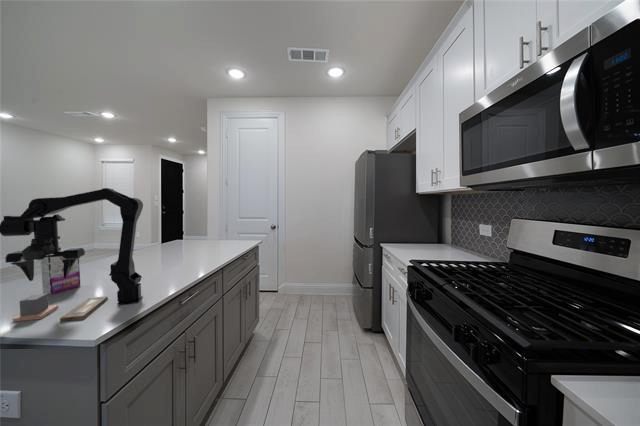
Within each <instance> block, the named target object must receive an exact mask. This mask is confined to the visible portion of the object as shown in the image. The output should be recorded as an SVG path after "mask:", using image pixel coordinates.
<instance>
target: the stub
mask: <svg viewBox="0 0 640 426" xmlns="http://www.w3.org/2000/svg"><path fill="white" fill-rule="evenodd" d="M57 309H59V305H58V304H57V305H54V304H53V305H49V294H48V293H46V294H43V293H35V294H31V295H29V296H27V297H25V298H23V299H21V300H19V314H18V315H17V316H15V317H13V318H12V322H22V321H32V320H40V319H43V318H45V317H46V316H49V314H51V313H54V311H56V310H57Z"/></svg>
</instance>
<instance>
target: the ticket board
mask: <svg viewBox="0 0 640 426" xmlns="http://www.w3.org/2000/svg"><path fill="white" fill-rule="evenodd" d="M106 301H108V296H98V297H96V296H95V297H89V298H87V299H85V300H84V301H82V302H81V303H79V304H78V305H76V306H75V307H74V308H72V309H71V310H70V311H68V312H67V313H65V314H64V315H62V316H60V318H59V322H60V323H62V322H71V321H81V320H85V319H86V318H87V317H88V316H90V315H91V314H92V313H94V312H95V310H97V309H98V308H99V307H101V306H102V305H103V304H104V303H105V302H106Z"/></svg>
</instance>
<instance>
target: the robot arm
mask: <svg viewBox="0 0 640 426" xmlns="http://www.w3.org/2000/svg"><path fill="white" fill-rule="evenodd" d="M106 200H107V201H108V202H110V203H112V204H113V205H115V206H116V207H119V212H120V217H121V219H122V225H121V234H120V241H119V242H120V243H119V250H118V256H117V257H118V258H117V260H115V262H113V263H112V264H111V263H110V272H109V275H108V276H109V277H110V280H111V281H112V282H113V283H114V284H115V285H116V286H117V288H118V290H117V293H116V295H117V296H116V298H117V306H121V305H130V304H131V305H133V304H138V303H140V302H141V300H142V299H143V298H144V297H143V295H142V283H141V280H142V278H143V276H142V275H140V274H139V273H137V272H136V268H135V263H134V258H133V256H134V249H135V247H134V246H135V239H136V230H137V222H138V220H139V218H140V216H141V213H142V212H143V209H144V203H143V201H142V200H141V199H139V198H138V197H130V196H128V195H126V194H123V193H121V192H118V191H116V190H114V189H113V188H109V187H108V188H107V187H103V188H101V189H98V190H92V191H87V192H83V193H76V194H72V195H68V196H67V195H66V196H61V197H59V196H58V197H57V196H56V197H40V198H39V197H38V198H33V199H32V200H30V202H29V203H28V207H27V208H26V210H24V211H23V213H21V215H4V216H3V220H2V221H1V222H0V235H1V236H2V237H18V236H19V237H20V236H24V237H25V236H30V235H31V234H32V233H33V238H31V241H30V245H28V246H26V247H25V248H24V249H23V250H18V251H13V252H9V253H7V254H6V255H5V257H4V259H5V261H4V262H5V263H6V264H7V263H10V265H12V266H17V267H18V268H20V270H22V272H23V273H24V274H25V277H26V278H27V280H28V281H29V282H32V281H34V277H35V261H41V259H44V258H45V257H60V256H63V257H64V258H65V259H63V260H62V262H63V263H64V278H67V276H68V274H69V272H70V270H71V268H72V266H73V264H74V262H75V261H76V259H78V258H79V259H81V257H83V256H85V255H86V254H85V251H86V250H85V249H84V248H83V247H71V248H67V249H64V250H62V248H61V247H60V246H59V240H61V236H60V235H59V233H58V232H59V231H58V230H59V229H58V222H64V221H66V219H65V217H62V216H61V215H60V214H59V213H60V212H63V211H65V210H68V209H70V208H72V207H76V206H82V205H87V204H90V203H96V202H101V201H106ZM47 215H49V216H47ZM50 215H52V216H50ZM52 254H54V255H52Z"/></svg>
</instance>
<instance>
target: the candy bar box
mask: <svg viewBox="0 0 640 426" xmlns="http://www.w3.org/2000/svg"><path fill="white" fill-rule="evenodd" d="M52 255H54V254H52ZM63 259H65V258H64V257H63V256H60V257H45V258H44V259H41V260H40V268H41V281H42V282H41V284H42V294H46V293H48V295H54V294H58V293H61V292H64V291H69V290H71V289H75V288H77V287H81V274H80V273H81V272H80V271H81V270H80V258H78V259H76V261H75V262H74V264H73V266H72V268H71V270H70V272H69V274H68V276H67V278H64V263H63V262H62V260H63Z"/></svg>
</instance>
